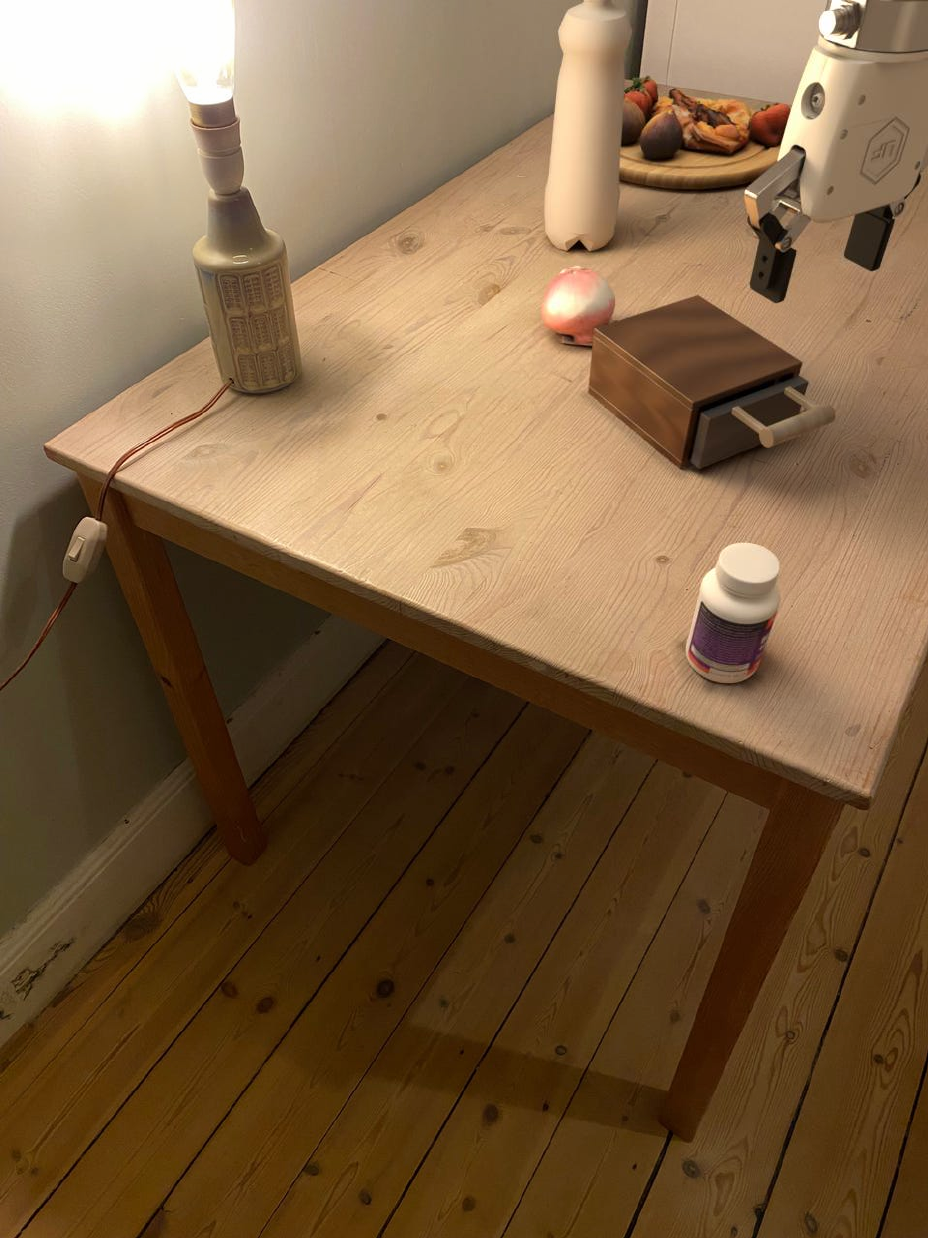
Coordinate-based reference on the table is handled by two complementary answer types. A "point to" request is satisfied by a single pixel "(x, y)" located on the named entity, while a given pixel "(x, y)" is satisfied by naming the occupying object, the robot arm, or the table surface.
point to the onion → (577, 305)
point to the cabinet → (679, 369)
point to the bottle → (587, 126)
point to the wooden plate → (696, 139)
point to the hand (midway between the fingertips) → (814, 279)
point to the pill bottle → (734, 614)
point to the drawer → (756, 420)
